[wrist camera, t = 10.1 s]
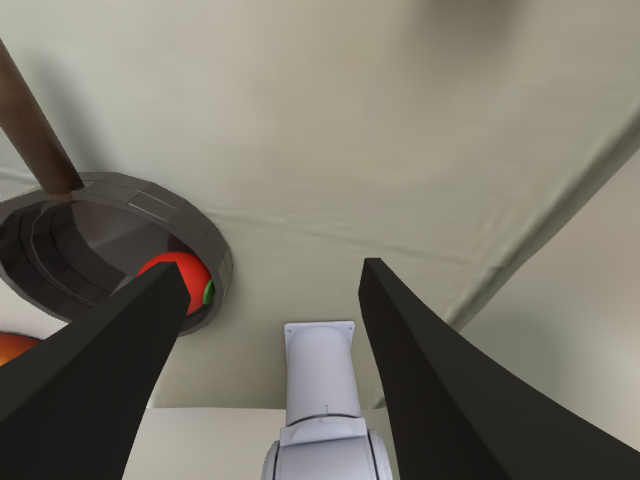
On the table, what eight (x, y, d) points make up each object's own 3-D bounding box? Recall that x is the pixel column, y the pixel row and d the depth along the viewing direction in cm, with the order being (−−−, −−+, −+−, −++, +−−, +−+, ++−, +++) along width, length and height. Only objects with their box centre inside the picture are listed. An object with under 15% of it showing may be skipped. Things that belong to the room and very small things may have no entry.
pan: (244, 305, 24) (237, 336, 21) (97, 310, 23) (68, 344, 20) (213, 170, 16) (194, 191, 13) (-18, 167, 15) (-93, 190, 12)
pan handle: (98, 196, 14) (78, 208, 13) (70, 195, 14) (47, 208, 13) (-34, -44, 9) (-92, -64, 7) (-83, -47, 9) (-151, -69, 7)
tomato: (166, 270, 21) (223, 282, 22) (128, 323, 17) (199, 336, 18) (153, 230, 18) (222, 247, 18) (103, 286, 14) (192, 304, 15)
